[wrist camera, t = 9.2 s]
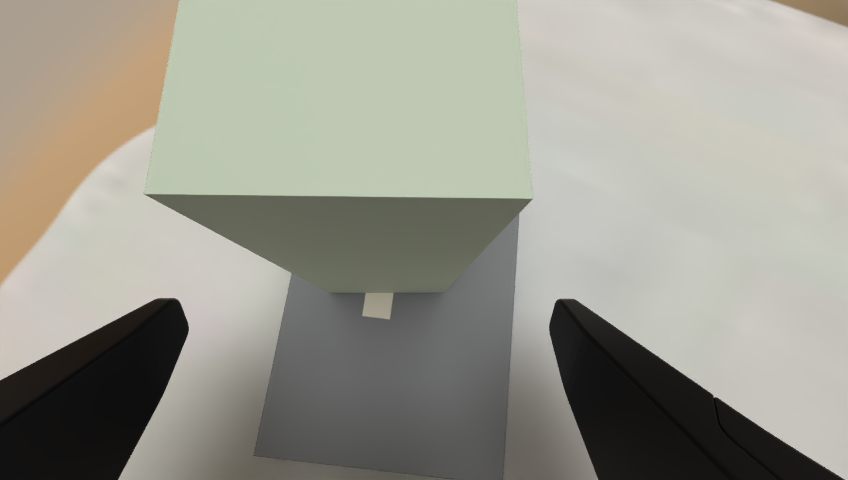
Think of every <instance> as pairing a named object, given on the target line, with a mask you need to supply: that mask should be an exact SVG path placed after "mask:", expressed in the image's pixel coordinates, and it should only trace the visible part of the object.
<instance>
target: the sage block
mask: <svg viewBox="0 0 848 480" xmlns="http://www.w3.org/2000/svg"><path fill="white" fill-rule="evenodd" d="M144 194H145V195H147V196H148V197H150V198H152V199H154V200H156V201H158V202H160V203H162V204H163V205H165V206H167V207H169V208H171V209H173V210H175V211H177V212H178V213H180V214H182V215H184V216H186V217H188V218H190V219H192V220H193V221H195V222H197V223H199V224H201V225H203V226H205V227H207V228H208V229H210V230H212V231H214V232H216V233H218V234H220V235H222V236H223V237H225V238H227V239H229V240H231V241H233V242H235V243H237V244H238V245H240V246H242V247H244V248H246V249H248V250H250V251H252V252H253V253H255V254H257V255H259V256H261V257H263V258H265V259H267V260H268V261H270V262H272V263H274V264H276V265H278V266H280V267H282V268H283V269H285V270H287V271H289V272H291V273H293V274H295V275H297V276H298V277H300V278H302V279H304V280H306V281H308V282H310V283H312V284H313V285H315V286H317V287H319V288H321V289H323V290H325V291H327V292H328V293H443V292H444V291H445V290H446V289H447V288H448V287H449V286H450V285H451V284H452V283H453V282H454V281H455V280H456V279H457V278H458V277H459V276H460V275H461V274H462V273H463V272H464V270H465V269H466V268H467V267H468V266H469V265H470V264H471V263H472V262H473V261H474V260H475V259H476V258H477V257H478V256H479V255H480V254H481V253H482V252H483V251H484V249H485V248H486V247H487V246H488V245H489V244H490V243H491V242H492V241H493V240H494V239H495V238H496V237H497V236H498V235H499V234H500V233H501V232H502V231H503V230H504V228H505V227H506V226H507V225H508V224H509V223H510V222H511V221H512V220H513V219H514V218H515V217H516V216H517V215H518V214H519V213H520V212H521V211H522V210H523V209H524V207H525V206H526V205H527V204H528V203H529V202H530V201H531V200H532V199H533V193H532V181H531V168H530V156H529V143H528V131H527V118H526V106H525V93H524V81H523V68H522V56H521V43H520V31H519V18H518V6H517V0H179V5H178V11H177V16H176V22H175V27H174V33H173V38H172V43H171V49H170V55H169V59H168V65H167V70H166V76H165V81H164V87H163V93H162V97H161V103H160V108H159V114H158V119H157V125H156V130H155V135H154V141H153V146H152V152H151V157H150V163H149V168H148V173H147V179H146V184H145V190H144Z"/></svg>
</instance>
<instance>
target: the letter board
mask: <svg viewBox="0 0 848 480" xmlns="http://www.w3.org/2000/svg"><path fill="white" fill-rule="evenodd" d="M518 226H519V214H518V215H517V216H516V217H515V218H514V219H513V220H512V221H511V222H510V223H509V224H508V225H507V226H506V227H505V228H504V230H503V231H502V232H501V233H500V234H499V235H498V236H497V237H496V238H495V239H494V240H493V241H492V242H491V243H490V244H489V245H488V246H487V247H486V248H485V249H484V251H483V252H482V253H481V254H480V255H479V256H478V257H477V258H476V259H475V260H474V261H473V262H472V263H471V264H470V265H469V266H468V267H467V268H466V269H465V270H464V272H463V273H462V274H461V275H460V276H459V277H458V278H457V279H456V280H455V281H454V282H453V283H452V284H451V285H450V286H449V287H448V288H447V289H446V290H445V291H444V292H443V293H328V292H327V291H325V290H323V289H321V288H319V287H317V286H315V285H313V284H312V283H310V282H308V281H306V280H304V279H302V278H300V277H298V276H297V275H295V274H293V273H292V275H291V280H290V284H289V289H288V294H287V299H286V303H285V308H284V313H283V318H282V323H281V327H280V332H279V337H278V342H277V346H276V351H275V356H274V361H273V365H272V370H271V375H270V380H269V385H268V389H267V394H266V399H265V404H264V408H263V413H262V418H261V423H260V428H259V432H258V437H257V442H256V447H255V451H254V456H259V457H268V458H276V459H285V460H293V461H302V462H310V463H319V464H327V465H336V466H344V467H353V468H361V469H370V470H378V471H387V472H395V473H404V474H412V475H421V476H429V477H438V478H446V479H455V480H503V470H504V454H505V437H506V421H507V405H508V389H509V372H510V356H511V340H512V324H513V307H514V291H515V275H516V259H517V242H518Z"/></svg>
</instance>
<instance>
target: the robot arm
mask: <svg viewBox="0 0 848 480" xmlns="http://www.w3.org/2000/svg"><path fill="white" fill-rule="evenodd" d="M188 331H189V326H188V322H187V319H186V317H185V314H184V311H183V309H182V306H181V304H180V302H179V301H178V300H177V299H175V298H158V299H155V300H153V301H151V302H149V303H147V304H145V305H143V306H142V307H140V308H138V309H136V310H134V311H132V312H130V313H128V314H126V315H124V316H122V317H121V318H119V319H117V320H115V321H113V322H111V323H109V324H107V325H105V326H103V327H101V328H99V329H98V330H96V331H94V332H92V333H90V334H88V335H86V336H84V337H82V338H80V339H78V340H77V341H75V342H73V343H71V344H69V345H67V346H65V347H63V348H61V349H59V350H57V351H56V352H54V353H52V354H50V355H48V356H46V357H44V358H42V359H40V360H38V361H36V362H35V363H33V364H31V365H29V366H27V367H25V368H23V369H21V370H19V371H17V372H15V373H13V374H12V375H10V376H8V377H6V378H4V379H2V380H0V480H118V479H119V477H120V475H121V473H122V471H123V469H124V467H125V466H126V464H127V462H128V460H129V458H130V456H131V454H132V452H133V451H134V449H135V447H136V445H137V443H138V441H139V439H140V437H141V436H142V434H143V432H144V430H145V428H146V426H147V424H148V422H149V421H150V419H151V417H152V415H153V413H154V411H155V409H156V407H157V406H158V404H159V402H160V400H161V398H162V396H163V394H164V391H165V389H166V387H167V385H168V382H169V380H170V377H171V375H172V372H173V370H174V367H175V365H176V362H177V360H178V358H179V355H180V353H181V350H182V348H183V345H184V343H185V340H186V338H187V335H188ZM549 331H550V336H551V340H552V344H553V348H554V352H555V356H556V360H557V363H558V367H559V371H560V375H561V379H562V383H563V386H564V390H565V393H566V395H567V398H568V401H569V404H570V406H571V409H572V412H573V414H574V417H575V420H576V422H577V425H578V427H579V430H580V433H581V435H582V438H583V441H584V443H585V446H586V448H587V451H588V454H589V456H590V459H591V462H592V464H593V467H594V470H595V472H596V475H597V477H598V480H844V479H843V478H841V477H839V476H838V475H836V474H835V473H833V472H831V471H830V470H828V469H826V468H825V467H823V466H822V465H820V464H818V463H817V462H815V461H813V460H812V459H810V458H809V457H807V456H805V455H804V454H802V453H801V452H799V451H797V450H796V449H794V448H793V447H791V446H789V445H788V444H786V443H785V442H783V441H782V440H780V439H778V438H777V437H775V436H774V435H772V434H770V433H769V432H767V431H766V430H764V429H763V428H761V427H760V426H758V425H757V424H755V423H754V422H752V421H751V420H749V419H748V418H746V417H745V416H743V415H742V414H740V413H739V412H737V411H736V410H734V409H733V408H732V407H730V406H729V405H727V404H726V403H724V402H723V401H721V400H720V399H719V398H717V397H715V398H714V397H713V395H712V394H711V393H710V392H708V391H707V390H705V389H704V388H702V387H701V386H700V385H698V384H697V383H695V382H694V381H692V380H691V379H689V378H688V377H687V376H685V375H684V374H682V373H681V372H679V371H678V370H676V369H675V368H674V367H672V366H671V365H669V364H668V363H666V362H665V361H663V360H662V359H661V358H659V357H658V356H656V355H655V354H653V353H652V352H650V351H649V350H648V349H646V348H645V347H643V346H642V345H640V344H639V343H637V342H636V341H635V340H633V339H632V338H630V337H629V336H627V335H626V334H624V333H623V332H622V331H620V330H619V329H617V328H616V327H614V326H613V325H611V324H610V323H608V322H607V321H606V320H604V319H603V318H601V317H600V316H598V315H597V314H595V313H594V312H593V311H591V310H590V309H588V308H587V307H585V306H584V305H582V304H581V303H580V302H578V301H577V300H575V299H558V300H557V301H556V303H555V306H554V309H553V313H552V317H551V321H550V325H549Z"/></svg>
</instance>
